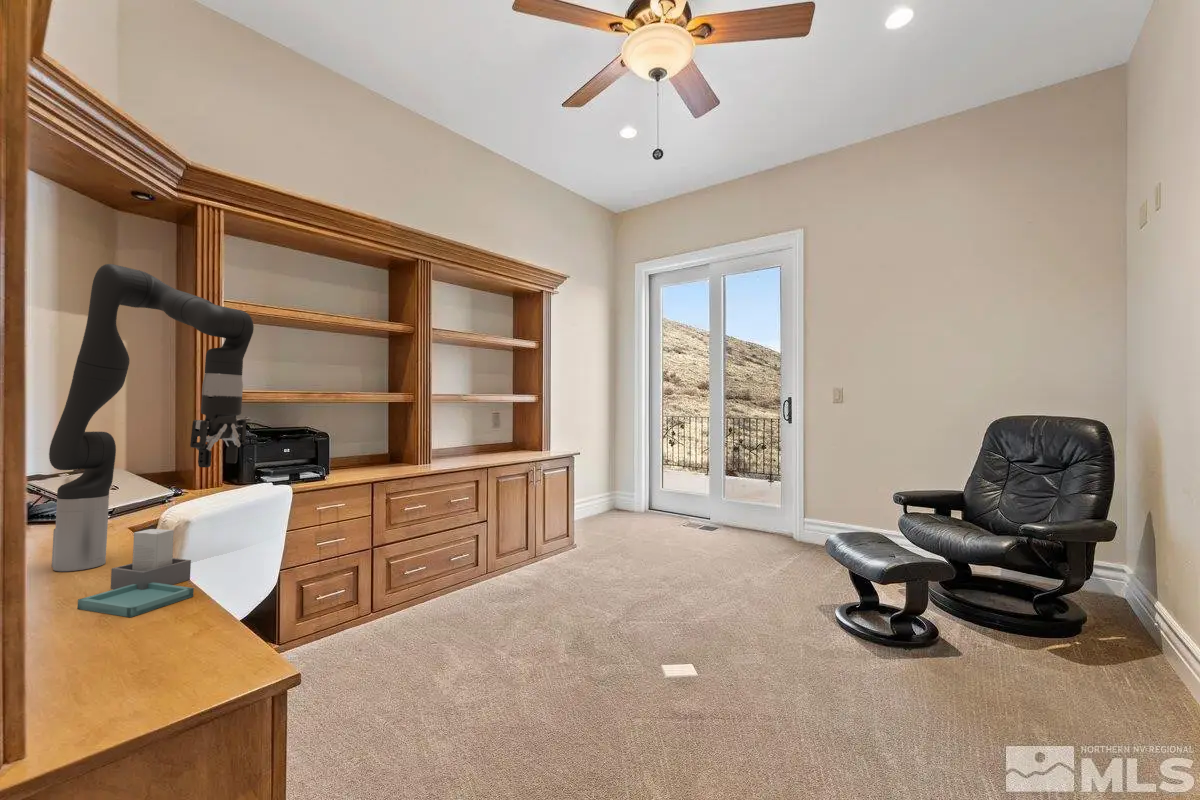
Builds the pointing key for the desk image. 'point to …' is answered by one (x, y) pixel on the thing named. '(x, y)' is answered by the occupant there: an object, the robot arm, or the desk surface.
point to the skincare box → (152, 549)
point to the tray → (135, 599)
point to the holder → (151, 575)
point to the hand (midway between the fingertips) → (218, 465)
